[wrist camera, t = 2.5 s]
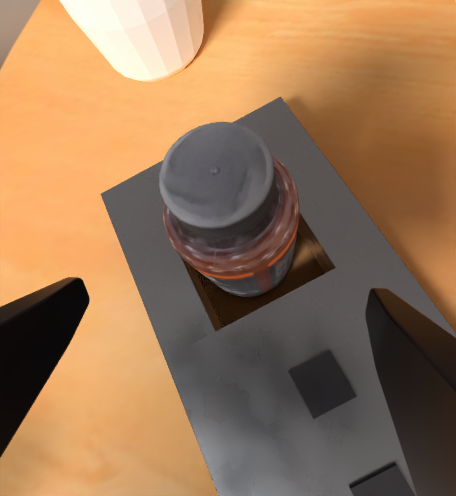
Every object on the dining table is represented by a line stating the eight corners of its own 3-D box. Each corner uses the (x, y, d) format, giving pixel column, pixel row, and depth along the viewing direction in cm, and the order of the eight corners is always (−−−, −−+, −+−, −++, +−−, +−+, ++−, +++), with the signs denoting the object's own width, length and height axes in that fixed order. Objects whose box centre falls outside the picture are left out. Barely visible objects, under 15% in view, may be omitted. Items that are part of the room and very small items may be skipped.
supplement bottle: (290, 213, 21) (304, 85, 10) (294, 298, 19) (317, 255, 8) (208, 217, 22) (139, 105, 11) (205, 299, 20) (122, 260, 9)
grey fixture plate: (541, 495, 15) (610, 538, 12) (292, 622, 15) (296, 698, 12) (280, 126, 23) (280, 94, 20) (122, 211, 23) (99, 192, 20)
